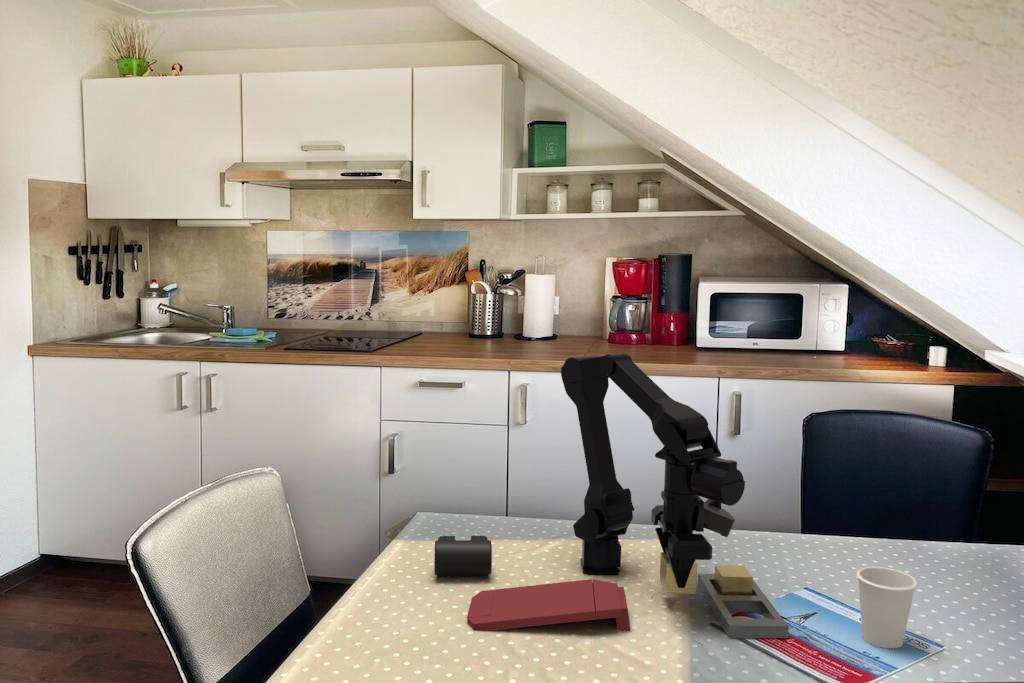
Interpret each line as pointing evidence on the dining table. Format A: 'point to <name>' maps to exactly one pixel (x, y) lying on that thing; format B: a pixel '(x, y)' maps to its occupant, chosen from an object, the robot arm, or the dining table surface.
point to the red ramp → (548, 605)
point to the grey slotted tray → (738, 603)
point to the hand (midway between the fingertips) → (677, 580)
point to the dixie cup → (885, 605)
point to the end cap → (463, 557)
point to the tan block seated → (732, 580)
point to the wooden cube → (669, 579)
